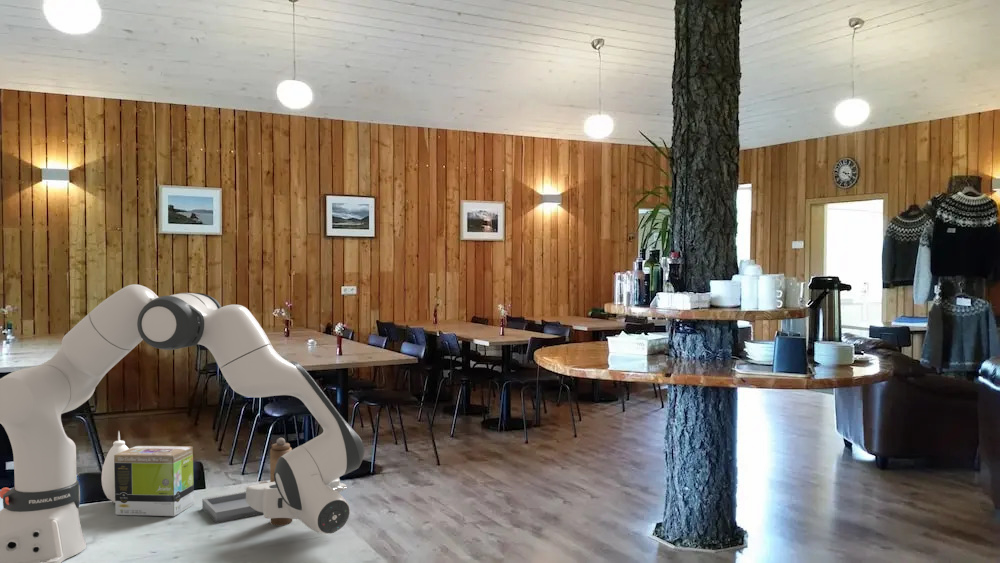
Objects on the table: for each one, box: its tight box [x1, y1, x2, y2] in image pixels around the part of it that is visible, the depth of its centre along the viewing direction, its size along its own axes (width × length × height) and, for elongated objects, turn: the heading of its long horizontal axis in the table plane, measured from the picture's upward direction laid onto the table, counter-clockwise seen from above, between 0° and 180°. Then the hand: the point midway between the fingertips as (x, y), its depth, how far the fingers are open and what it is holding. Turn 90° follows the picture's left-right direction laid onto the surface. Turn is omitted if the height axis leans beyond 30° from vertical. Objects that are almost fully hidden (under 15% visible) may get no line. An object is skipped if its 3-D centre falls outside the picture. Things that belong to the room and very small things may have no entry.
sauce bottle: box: [101, 430, 130, 503], centre depth 192 cm, size 8×8×18 cm
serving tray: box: [202, 491, 264, 524], centre depth 186 cm, size 13×12×2 cm
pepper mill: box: [269, 437, 293, 526], centre depth 178 cm, size 5×5×20 cm
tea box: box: [114, 445, 195, 517], centre depth 186 cm, size 15×10×15 cm
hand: (282, 481), depth 176 cm, fingers open, 8 cm apart
